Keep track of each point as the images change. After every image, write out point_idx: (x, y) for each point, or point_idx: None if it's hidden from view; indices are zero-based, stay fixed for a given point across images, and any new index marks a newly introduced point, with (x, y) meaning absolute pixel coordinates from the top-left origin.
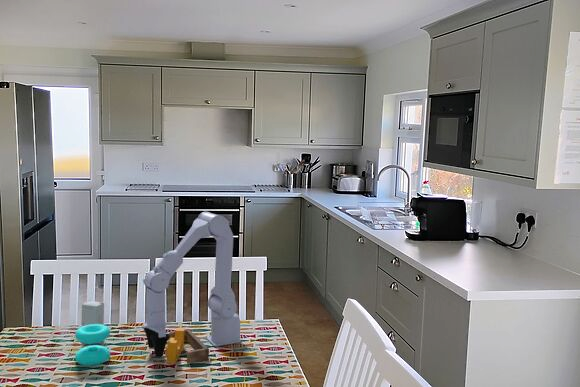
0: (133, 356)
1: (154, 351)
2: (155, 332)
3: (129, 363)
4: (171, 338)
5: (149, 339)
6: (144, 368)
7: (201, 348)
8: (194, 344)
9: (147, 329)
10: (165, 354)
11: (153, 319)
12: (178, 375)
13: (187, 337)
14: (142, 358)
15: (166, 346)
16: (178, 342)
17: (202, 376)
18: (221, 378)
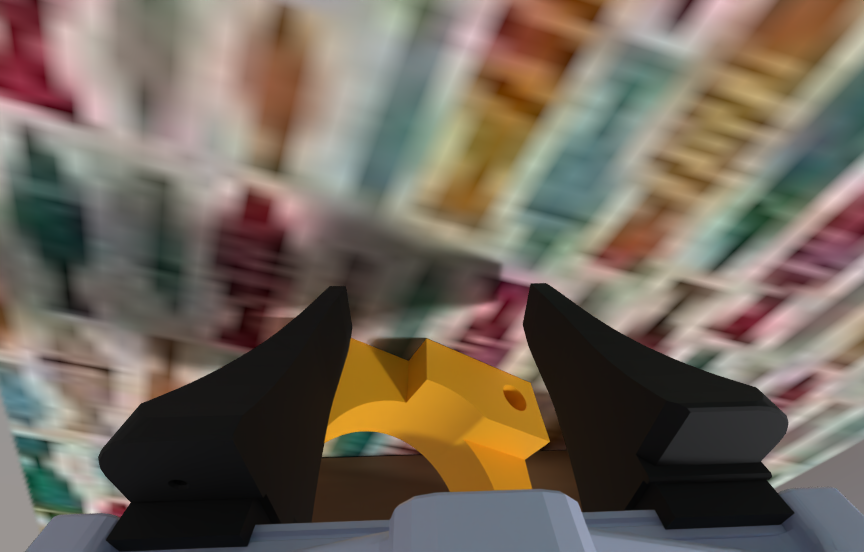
0: (519, 128)
1: (329, 304)
2: (576, 431)
3: (374, 42)
4: (531, 441)
5: (564, 333)
6: (223, 155)
7: (325, 504)
8: (439, 480)
9: (633, 419)
10: (426, 341)
11: None
12: (81, 332)
13: (554, 474)
14: (439, 191)
15: (446, 387)
16: (444, 455)
17: (75, 417)
18: (57, 465)
